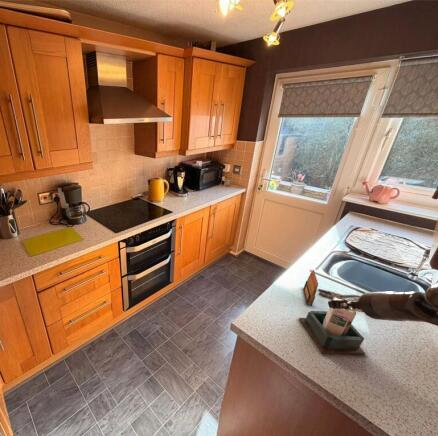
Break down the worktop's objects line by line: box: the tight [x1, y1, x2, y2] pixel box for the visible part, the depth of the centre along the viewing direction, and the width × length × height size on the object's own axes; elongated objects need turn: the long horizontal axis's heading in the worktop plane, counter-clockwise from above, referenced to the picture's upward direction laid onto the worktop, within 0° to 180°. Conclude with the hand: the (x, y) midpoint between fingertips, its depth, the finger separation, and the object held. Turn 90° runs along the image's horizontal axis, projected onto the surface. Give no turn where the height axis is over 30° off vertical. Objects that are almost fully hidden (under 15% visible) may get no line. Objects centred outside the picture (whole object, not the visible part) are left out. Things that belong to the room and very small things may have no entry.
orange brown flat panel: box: [302, 269, 319, 307], centre depth 99 cm, size 11×2×12 cm, turn 155°
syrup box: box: [322, 297, 357, 336], centre depth 80 cm, size 6×6×14 cm
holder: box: [298, 310, 366, 356], centre depth 83 cm, size 14×14×6 cm
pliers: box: [317, 288, 362, 303], centre depth 99 cm, size 10×1×20 cm
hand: (342, 304), depth 79 cm, fingers open, 8 cm apart
